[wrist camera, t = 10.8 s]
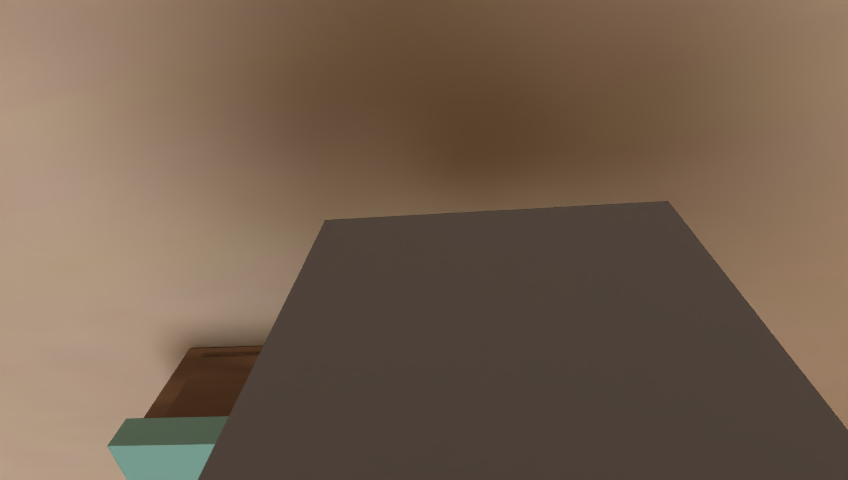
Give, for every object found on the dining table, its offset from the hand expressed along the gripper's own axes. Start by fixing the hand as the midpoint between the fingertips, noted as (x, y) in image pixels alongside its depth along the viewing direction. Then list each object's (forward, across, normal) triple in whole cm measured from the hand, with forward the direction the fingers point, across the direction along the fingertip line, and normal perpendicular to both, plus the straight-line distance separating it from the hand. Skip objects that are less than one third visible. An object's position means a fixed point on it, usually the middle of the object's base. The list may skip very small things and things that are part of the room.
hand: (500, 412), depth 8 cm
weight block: (+1, 0, 0) cm, 1 cm away
